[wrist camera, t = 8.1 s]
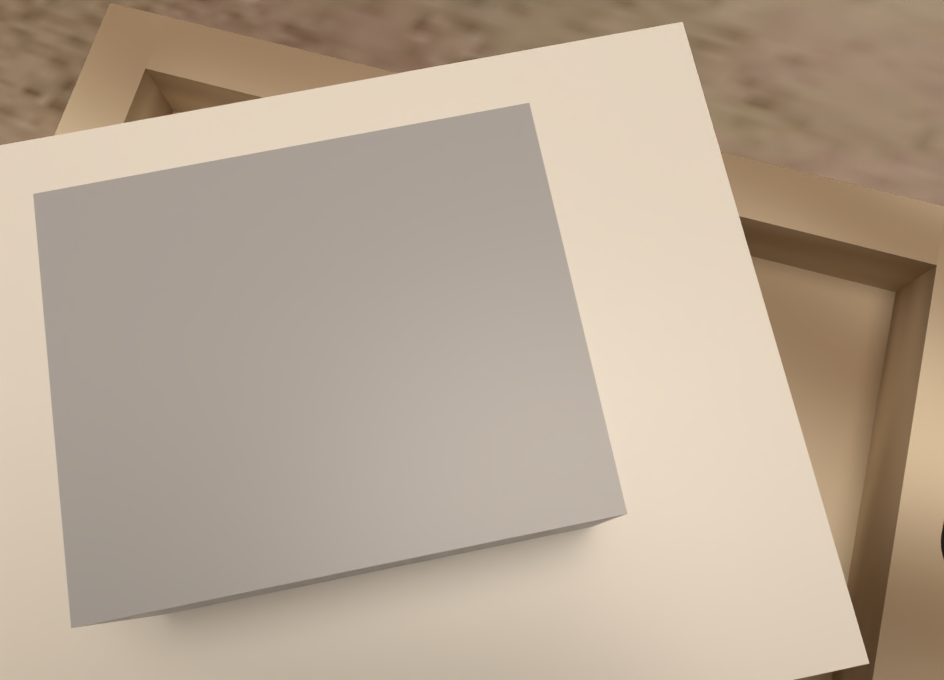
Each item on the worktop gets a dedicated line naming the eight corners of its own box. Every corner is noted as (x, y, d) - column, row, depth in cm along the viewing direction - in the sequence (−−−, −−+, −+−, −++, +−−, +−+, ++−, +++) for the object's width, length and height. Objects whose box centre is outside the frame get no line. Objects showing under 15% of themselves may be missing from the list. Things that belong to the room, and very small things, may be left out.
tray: (812, 1113, 16) (899, 1254, 12) (-144, 812, 17) (-289, 870, 14) (943, 265, 19) (1035, 205, 16) (152, 69, 21) (93, -23, 17)
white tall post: (588, 596, 17) (991, 692, 4) (325, 651, 17) (-243, 964, 4) (542, 390, 18) (732, -114, 5) (293, 440, 18) (-248, 58, 4)
